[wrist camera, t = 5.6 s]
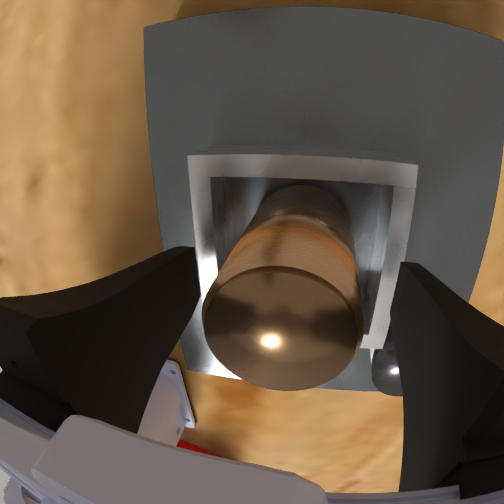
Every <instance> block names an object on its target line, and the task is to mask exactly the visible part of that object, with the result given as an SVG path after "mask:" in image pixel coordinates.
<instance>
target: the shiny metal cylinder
mask: <svg viewBox="0 0 504 504" xmlns="http://www.w3.org/2000/svg"><path fill="white" fill-rule="evenodd" d="M201 315H202V324H203V328H204V334H205V338H206V341H207V344H208V346H209V348H210V350H211V352H212V353H213V355H214V356H215V357H216V359H217V360H218V361H219V362H220V363H221V364H222V365H223V366H224V367H225V368H226V369H227V370H229V371H230V372H231V373H233V374H234V375H236V376H237V377H239V378H241V379H242V380H244V381H247V382H249V383H251V384H254V385H257V386H260V387H263V388H267V389H273V390H281V391H297V390H305V389H310V388H313V387H317V386H320V385H322V384H324V383H327V382H329V381H330V380H332V379H334V378H335V377H336V376H338V375H339V374H340V373H341V372H342V371H343V370H344V369H345V368H346V367H347V366H348V364H349V363H350V362H351V360H352V359H353V358H354V356H355V355H356V354H357V352H358V350H359V348H360V346H361V343H362V340H363V335H364V317H363V308H362V299H361V290H360V282H359V275H358V267H357V260H356V253H355V247H354V240H353V234H352V228H351V223H350V219H349V217H348V214H347V212H346V210H345V209H344V207H343V206H342V205H341V203H340V202H339V201H338V200H337V199H336V198H335V197H334V196H332V195H331V194H329V193H328V192H326V191H324V190H322V189H319V188H317V187H313V186H307V185H294V186H288V187H285V188H282V189H280V190H277V191H276V192H274V193H272V194H271V195H270V196H268V197H267V198H266V199H265V200H264V201H263V202H262V204H261V205H260V207H259V208H258V210H257V211H256V213H255V215H254V216H253V218H252V219H251V221H250V223H249V224H248V226H247V227H246V229H245V231H244V232H243V234H242V235H241V237H240V239H239V240H238V242H237V244H236V245H235V247H234V248H233V250H232V252H231V253H230V255H229V257H228V258H227V260H226V261H225V263H224V265H223V266H222V268H221V270H220V271H219V273H218V275H217V276H216V278H215V279H214V281H213V283H212V284H211V286H210V288H209V289H208V291H207V293H206V295H205V298H204V301H203V305H202V313H201Z"/></svg>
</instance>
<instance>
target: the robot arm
mask: <svg viewBox="0 0 504 504" xmlns="http://www.w3.org/2000/svg"><path fill="white" fill-rule="evenodd" d="M200 296H201V292H200V284H199V276H198V269H197V261H196V252H195V247H189V246H177V247H174V248H171V249H169V250H166V251H164V252H162V253H159V254H157V255H155V256H153V257H151V258H148V259H146V260H144V261H142V262H140V263H138V264H135V265H133V266H131V267H128V268H126V269H124V270H121V271H119V272H117V273H114V274H112V275H109V276H107V277H104V278H101V279H99V280H96V281H93V282H90V283H86V284H83V285H79V286H75V287H71V288H67V289H64V290H59V291H54V292H49V293H43V294H36V295H29V296H16V297H2V298H0V366H1V368H2V370H3V371H2V372H1V373H0V468H1V469H2V470H3V471H5V472H6V473H7V474H8V475H9V476H11V478H10V480H9V482H8V483H7V485H6V487H5V488H4V494H5V495H4V502H5V504H504V326H502V325H500V324H499V323H497V322H495V321H494V320H492V319H491V318H489V317H488V316H486V315H484V314H483V313H481V312H480V311H478V310H477V309H476V308H474V307H473V306H471V305H470V304H469V303H468V302H466V301H465V300H464V299H462V298H461V297H460V296H458V295H457V294H456V293H455V292H453V291H452V290H451V289H450V288H449V287H447V286H446V285H445V284H444V283H443V282H441V281H440V280H439V279H438V278H437V277H435V276H434V275H433V274H432V273H431V272H429V271H428V270H427V269H426V268H424V267H423V266H422V265H420V264H418V263H414V262H401V263H400V268H399V272H398V277H397V282H396V287H395V291H394V295H393V300H392V304H391V308H390V321H391V333H392V339H393V344H394V349H395V354H396V358H397V363H398V369H399V374H400V379H401V385H402V392H403V409H404V438H403V457H402V469H401V477H400V485H399V492H391V493H328V492H325V491H324V490H323V489H322V488H321V487H320V486H319V485H318V484H316V483H313V482H311V481H309V480H307V479H305V478H303V477H301V476H299V475H297V474H295V473H292V472H287V471H282V470H278V469H274V468H270V467H266V466H262V465H258V464H253V463H247V462H241V461H236V460H231V459H226V458H221V457H216V456H212V455H208V454H203V453H199V452H195V451H191V450H187V449H184V448H180V447H176V446H177V443H178V441H179V439H180V437H181V435H182V432H183V430H184V428H185V427H189V428H194V427H195V426H196V423H195V420H194V417H193V413H192V410H191V407H190V403H189V400H188V396H187V393H186V389H185V385H184V382H183V378H182V374H181V371H180V367H179V365H178V363H177V362H175V361H172V360H167V358H168V357H169V355H170V353H171V351H172V350H173V348H174V346H175V345H176V343H177V341H178V340H179V338H180V336H181V335H182V333H183V331H184V330H185V328H186V326H187V325H188V323H189V321H190V319H191V318H192V316H193V313H194V311H195V309H196V306H197V304H198V301H199V298H200Z"/></svg>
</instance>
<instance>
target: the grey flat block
mask: <svg viewBox="0 0 504 504" xmlns="http://www.w3.org/2000/svg"><path fill="white" fill-rule="evenodd" d="M144 64H145V87H146V104H147V118H148V130H149V141H150V152H151V162H152V171H153V180H154V188H155V196H156V204H157V211H158V218H159V225H160V232H161V238H162V245H163V251H166V250H169V249H171V248H174V247H177V246H189V247H195V252H196V261H197V269H198V276H199V284H200V292H201V296H200V298H199V301H198V304H197V306H196V309H195V311H194V313H193V316H192V318H191V319H190V321H189V323H188V325H187V326H186V328H185V330H184V331H183V333H182V335H181V336H180V339H181V344H182V348H183V352H184V357H185V361H186V365H187V369H188V370H192V371H197V372H202V373H207V374H213V375H219V376H225V377H231V378H237V379H241V378H239V377H237V376H236V375H234V374H233V373H231V372H230V371H229V370H227V369H226V368H225V367H224V366H223V365H222V364H221V363H220V362H219V361H218V360H217V359H216V357H215V356H214V355H213V353H212V352H211V350H210V348H209V346H208V344H207V341H206V338H205V334H204V328H203V324H202V315H201V313H202V305H203V301H204V298H205V295H206V293H207V291H208V289H209V288H210V286H211V284H212V283H213V281H214V279H215V278H216V276H217V275H218V273H219V271H220V270H221V268H222V266H223V265H224V263H225V261H226V260H227V258H228V257H229V255H230V253H231V252H232V250H233V248H234V247H235V245H236V244H237V242H238V240H239V239H240V237H241V235H242V234H243V232H244V231H245V229H246V227H247V226H248V224H249V223H250V221H251V219H252V218H253V216H254V215H255V213H256V211H257V210H258V208H259V207H260V205H261V204H262V202H263V201H264V200H265V199H266V198H267V197H268V196H270V195H271V194H272V193H274V192H276V191H277V190H280V189H282V188H285V187H288V186H294V185H307V186H313V187H317V188H319V189H322V190H324V191H326V192H328V193H329V194H331V195H332V196H334V197H335V198H336V199H337V200H338V201H339V202H340V203H341V205H342V206H343V207H344V209H345V210H346V212H347V214H348V217H349V219H350V223H351V228H352V234H353V240H354V247H355V253H356V260H357V267H358V275H359V282H360V290H361V299H362V308H363V317H364V335H363V340H362V343H361V346H360V348H359V350H358V352H357V354H356V355H355V356H354V358H353V359H352V360H351V362H350V363H349V364H348V366H347V367H346V368H345V369H344V370H343V371H342V372H341V373H340V374H339V375H338V376H336V377H335V378H334V379H332V380H330V381H329V382H327V383H324V384H322V385H320V386H317V387H313V388H322V389H336V390H354V391H380V392H382V393H384V394H387V395H391V396H403V392H402V385H401V379H400V374H399V369H398V363H397V358H396V354H395V349H394V344H393V339H392V333H391V321H390V308H391V304H392V300H393V295H394V291H395V287H396V282H397V277H398V272H399V268H400V263H401V262H414V263H418V264H420V265H422V266H423V267H424V268H426V269H427V270H428V271H429V272H431V273H432V274H433V275H434V276H435V277H437V278H438V279H439V280H440V281H441V282H443V283H444V284H445V285H446V286H447V287H449V288H450V289H451V290H452V291H453V292H455V293H456V294H457V295H458V296H460V297H461V298H462V299H464V300H465V301H466V302H469V299H470V297H471V294H472V291H473V288H474V285H475V281H476V278H477V275H478V272H479V268H480V265H481V261H482V258H483V254H484V251H485V247H486V243H487V239H488V235H489V230H490V226H491V222H492V217H493V212H494V207H495V202H496V196H497V190H498V184H499V178H500V171H501V163H502V154H503V144H504V41H502V40H499V39H497V38H494V37H491V36H488V35H485V34H482V33H479V32H475V31H472V30H469V29H465V28H462V27H458V26H454V25H450V24H446V23H442V22H438V21H434V20H429V19H424V18H419V17H414V16H409V15H403V14H396V13H390V12H382V11H374V10H365V9H354V8H339V7H269V8H254V9H243V10H233V11H225V12H217V13H210V14H204V15H198V16H192V17H187V18H182V19H177V20H172V21H167V22H163V23H158V24H154V25H150V26H146V27H144Z"/></svg>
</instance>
